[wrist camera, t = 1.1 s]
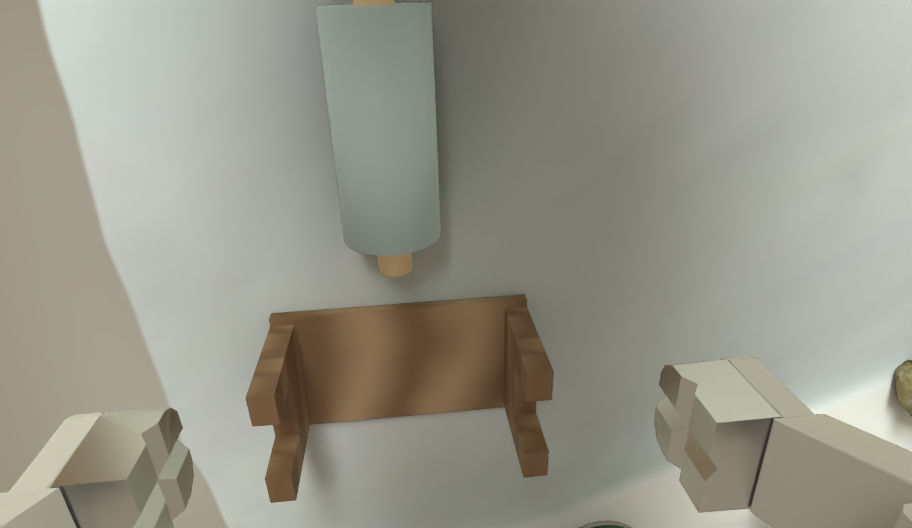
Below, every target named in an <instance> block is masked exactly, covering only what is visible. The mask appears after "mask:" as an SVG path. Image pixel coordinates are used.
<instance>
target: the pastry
mask: <svg viewBox="0 0 912 528" xmlns="http://www.w3.org/2000/svg"><path fill="white" fill-rule="evenodd" d="M895 383H896V390H897V399H898V402H899V403H900V404H901V405H902V406H903V407H904V408H905V409H906V410H907V411H908V412H909V413H910V414H911V415H912V361H911V360H907V361H905V362H904V363H903V364H902V365H900V366H899V367H898V368H897V369H896V371H895Z"/></svg>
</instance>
